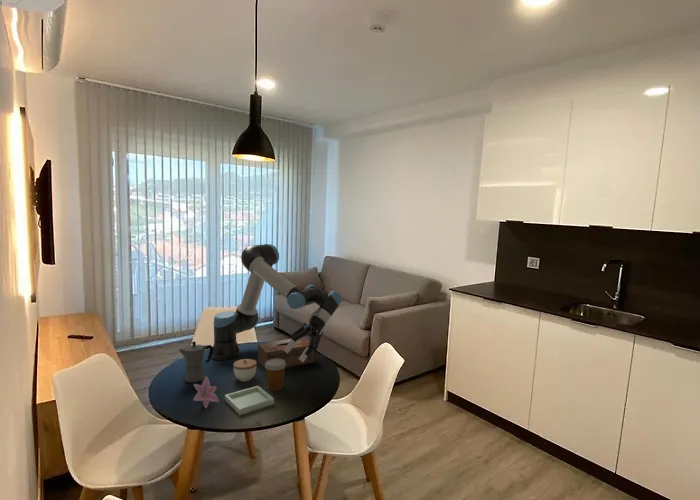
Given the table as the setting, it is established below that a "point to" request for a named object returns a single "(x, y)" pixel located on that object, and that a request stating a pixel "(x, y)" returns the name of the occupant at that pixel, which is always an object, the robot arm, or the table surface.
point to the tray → (249, 400)
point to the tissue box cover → (277, 352)
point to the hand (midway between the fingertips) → (292, 356)
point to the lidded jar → (245, 369)
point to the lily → (205, 392)
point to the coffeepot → (195, 361)
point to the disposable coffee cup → (275, 373)
